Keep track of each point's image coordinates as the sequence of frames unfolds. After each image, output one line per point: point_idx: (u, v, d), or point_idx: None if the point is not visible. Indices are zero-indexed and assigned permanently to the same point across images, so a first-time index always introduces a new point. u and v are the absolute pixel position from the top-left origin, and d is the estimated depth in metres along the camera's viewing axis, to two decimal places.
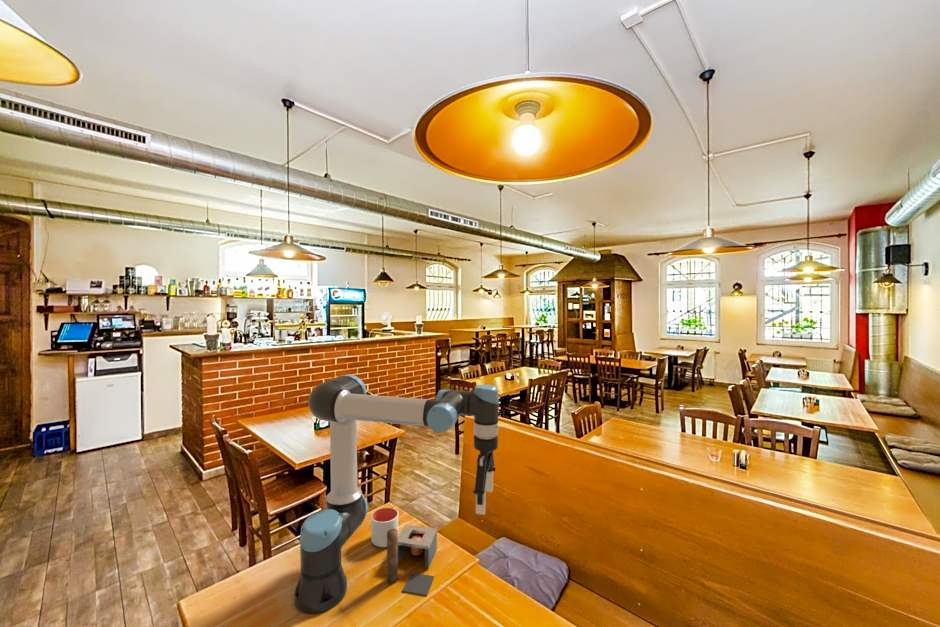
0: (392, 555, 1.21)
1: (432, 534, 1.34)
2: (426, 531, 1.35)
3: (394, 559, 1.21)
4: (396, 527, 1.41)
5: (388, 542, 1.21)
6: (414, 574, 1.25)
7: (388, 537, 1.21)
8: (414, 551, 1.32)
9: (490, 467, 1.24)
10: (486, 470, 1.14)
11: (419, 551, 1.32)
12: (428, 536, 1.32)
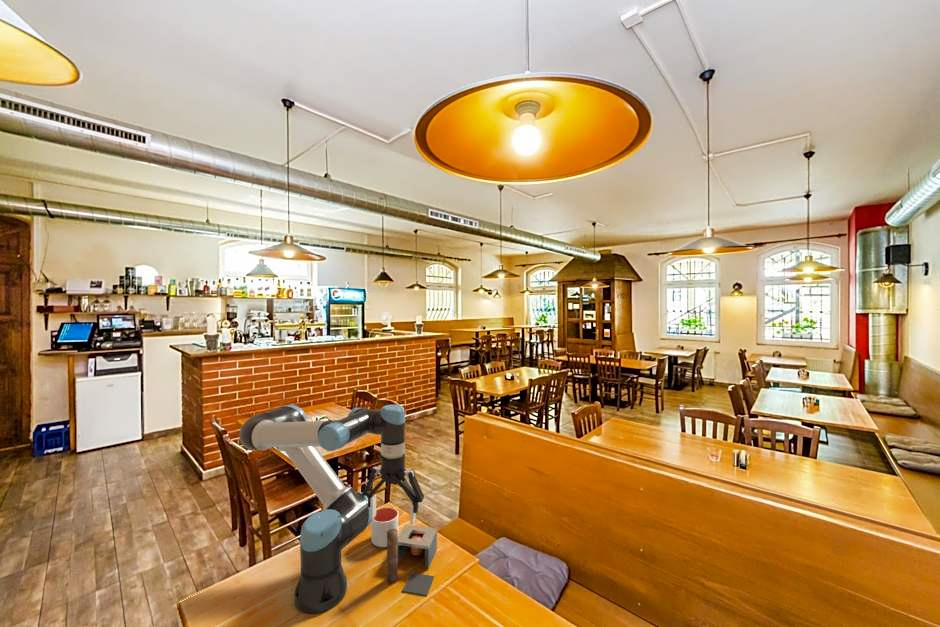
0: (392, 555, 1.21)
1: (432, 534, 1.34)
2: (426, 531, 1.35)
3: (394, 559, 1.21)
4: (396, 527, 1.41)
5: (388, 542, 1.21)
6: (414, 574, 1.25)
7: (388, 537, 1.21)
8: (414, 551, 1.32)
9: None
10: None
11: (419, 551, 1.32)
12: (428, 536, 1.32)
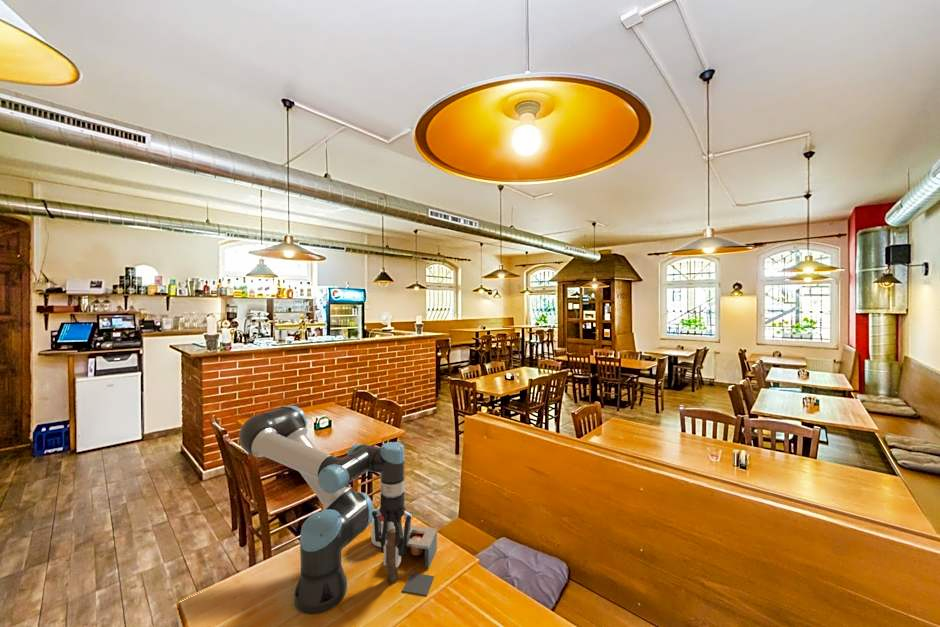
0: (392, 555, 1.21)
1: (432, 534, 1.34)
2: (426, 531, 1.35)
3: (394, 559, 1.21)
4: None
5: (388, 542, 1.21)
6: (414, 574, 1.25)
7: (388, 537, 1.21)
8: (414, 551, 1.32)
9: None
10: None
11: (419, 551, 1.32)
12: (428, 536, 1.32)
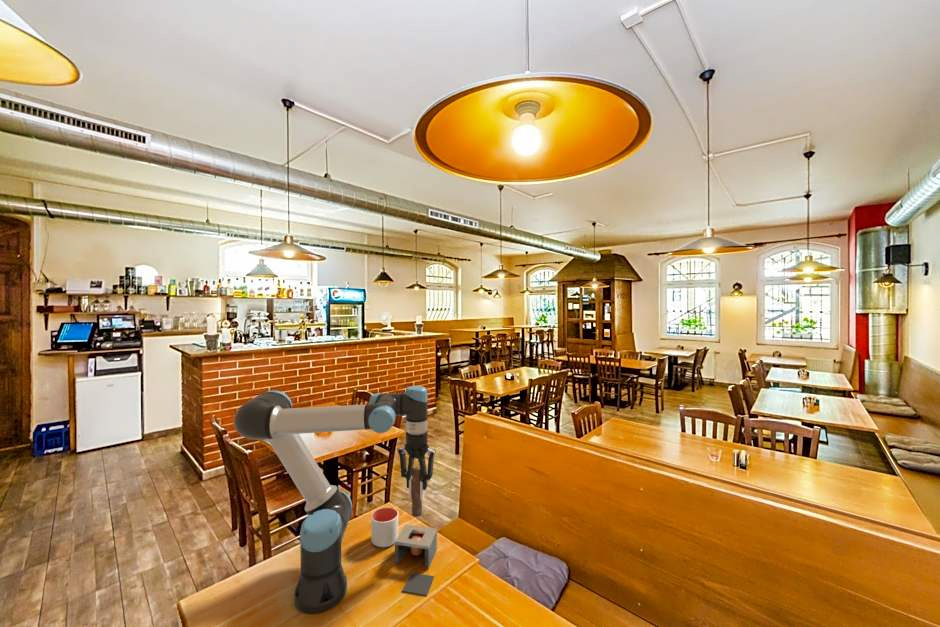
0: (417, 490, 1.30)
1: (432, 534, 1.34)
2: (426, 531, 1.35)
3: (418, 493, 1.31)
4: (396, 527, 1.41)
5: (413, 478, 1.31)
6: (414, 574, 1.25)
7: (413, 473, 1.31)
8: (414, 551, 1.32)
9: None
10: None
11: (419, 551, 1.32)
12: (428, 536, 1.32)
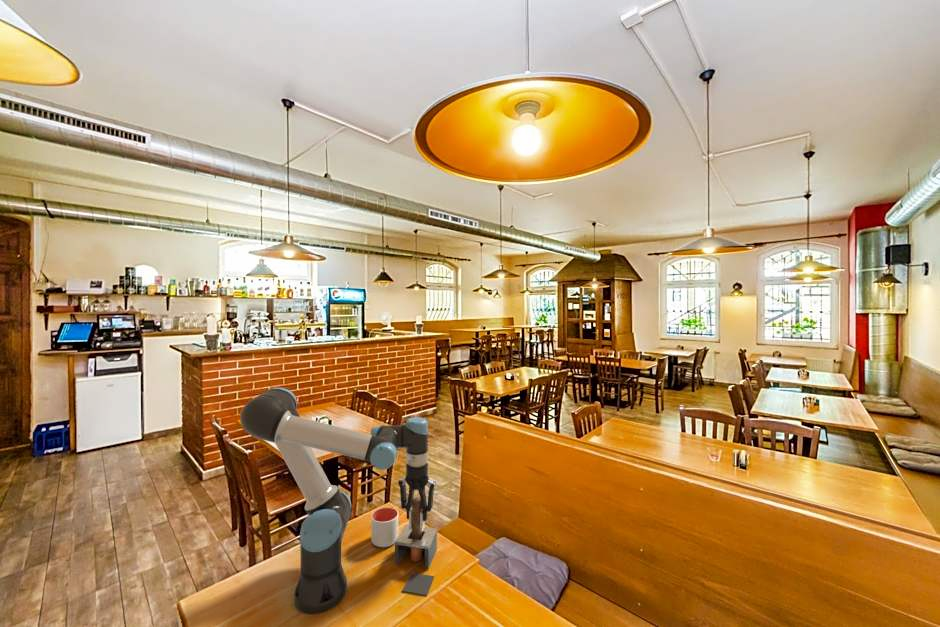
0: (417, 522, 1.31)
1: (432, 534, 1.34)
2: (426, 531, 1.35)
3: (418, 525, 1.32)
4: (396, 527, 1.41)
5: (413, 509, 1.31)
6: (414, 574, 1.25)
7: (413, 505, 1.31)
8: (414, 557, 1.32)
9: None
10: None
11: (419, 557, 1.32)
12: (428, 536, 1.32)
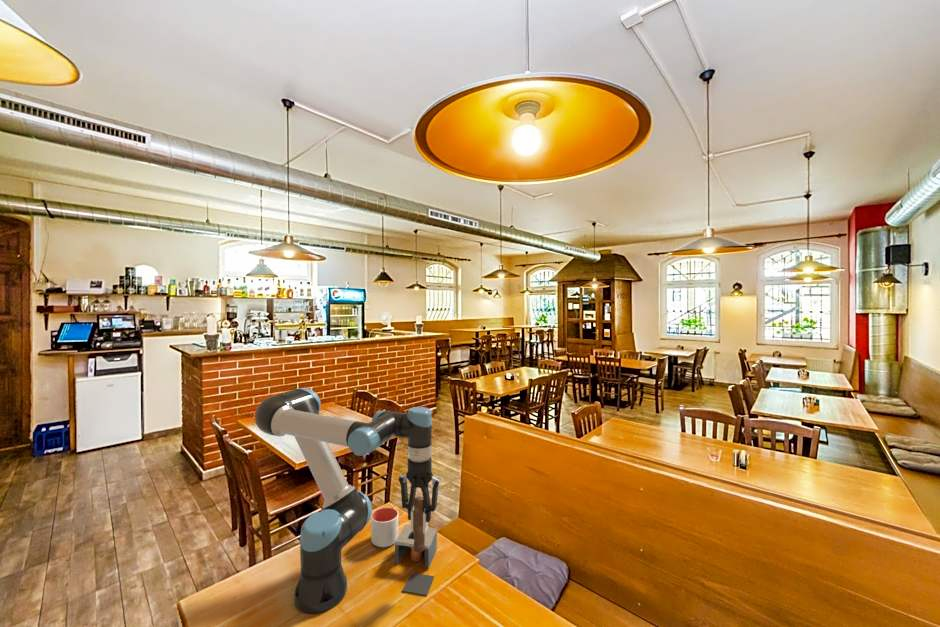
0: (419, 523, 1.18)
1: (432, 534, 1.34)
2: (426, 531, 1.35)
3: (421, 526, 1.19)
4: (396, 527, 1.41)
5: (415, 509, 1.18)
6: (414, 574, 1.25)
7: (415, 504, 1.18)
8: (414, 557, 1.32)
9: None
10: None
11: (419, 557, 1.32)
12: (428, 536, 1.32)
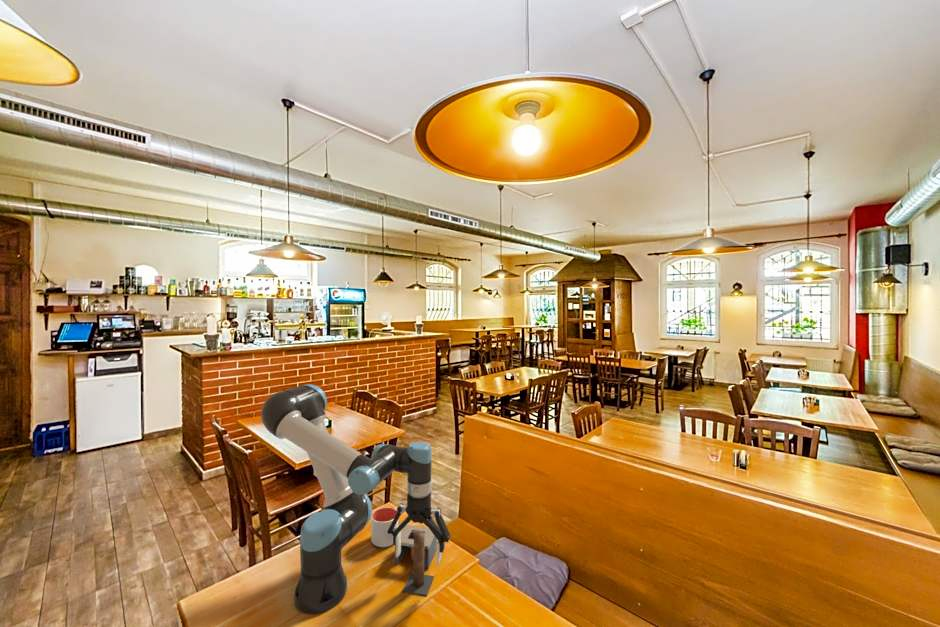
0: (419, 558, 1.19)
1: (432, 534, 1.34)
2: (426, 531, 1.35)
3: (421, 562, 1.19)
4: (396, 527, 1.41)
5: (415, 545, 1.19)
6: None
7: (415, 540, 1.19)
8: None
9: None
10: (404, 521, 1.20)
11: None
12: (428, 536, 1.32)
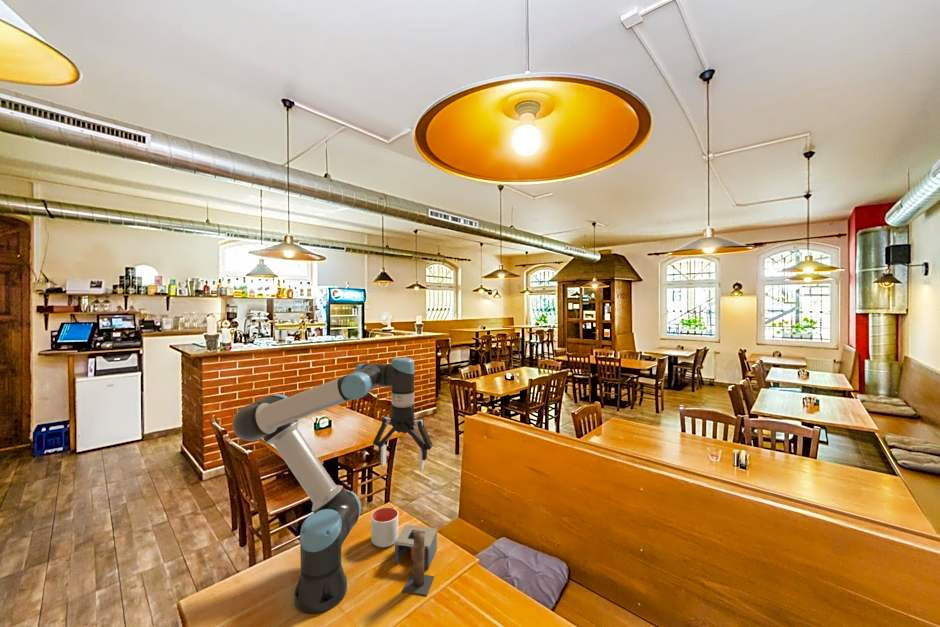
0: (419, 558, 1.19)
1: (432, 534, 1.34)
2: (426, 531, 1.35)
3: (421, 562, 1.19)
4: (396, 527, 1.41)
5: (415, 545, 1.19)
6: None
7: (415, 540, 1.19)
8: None
9: None
10: (389, 431, 1.26)
11: None
12: (428, 536, 1.32)
